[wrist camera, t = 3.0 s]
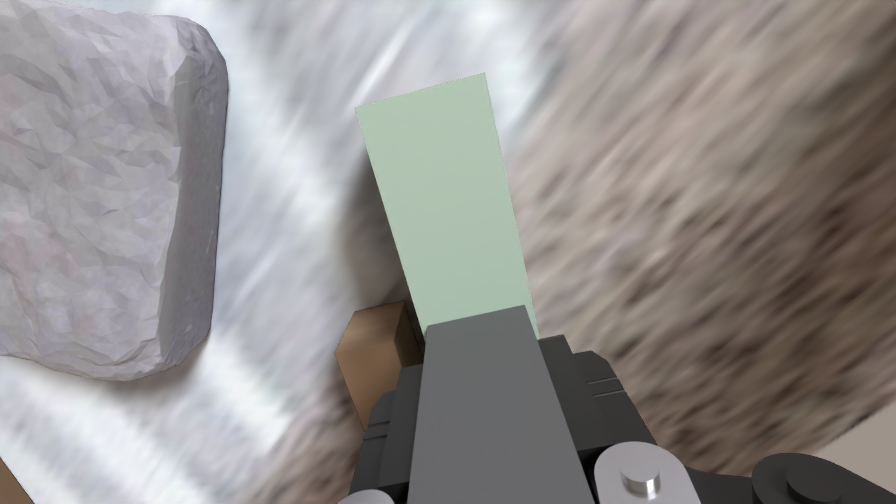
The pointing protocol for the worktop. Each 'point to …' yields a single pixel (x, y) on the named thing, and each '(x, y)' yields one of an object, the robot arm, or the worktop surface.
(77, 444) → the worktop surface
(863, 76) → the worktop surface
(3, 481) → the wooden u-shaped frame
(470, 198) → the board
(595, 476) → the robot arm
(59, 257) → the stone block
